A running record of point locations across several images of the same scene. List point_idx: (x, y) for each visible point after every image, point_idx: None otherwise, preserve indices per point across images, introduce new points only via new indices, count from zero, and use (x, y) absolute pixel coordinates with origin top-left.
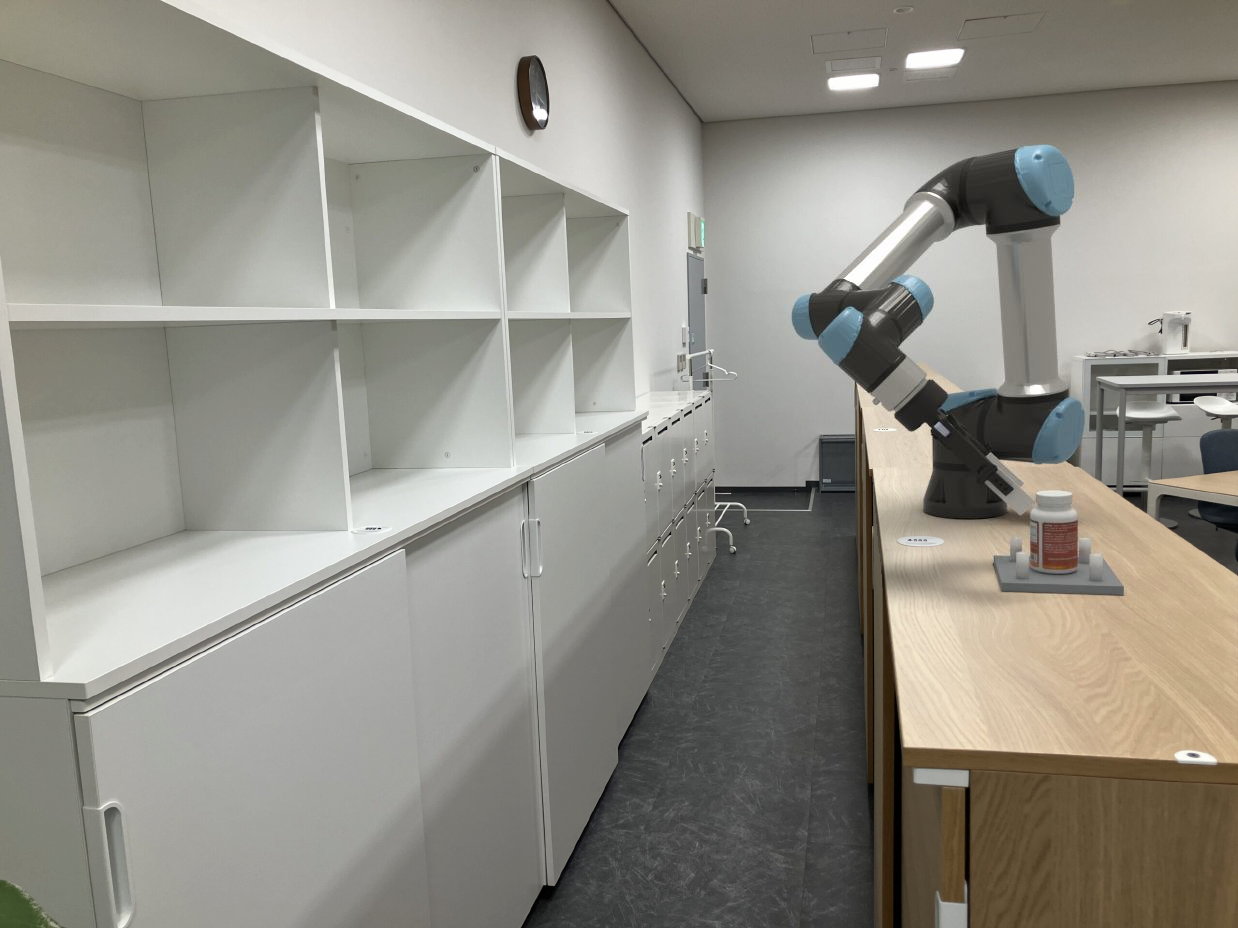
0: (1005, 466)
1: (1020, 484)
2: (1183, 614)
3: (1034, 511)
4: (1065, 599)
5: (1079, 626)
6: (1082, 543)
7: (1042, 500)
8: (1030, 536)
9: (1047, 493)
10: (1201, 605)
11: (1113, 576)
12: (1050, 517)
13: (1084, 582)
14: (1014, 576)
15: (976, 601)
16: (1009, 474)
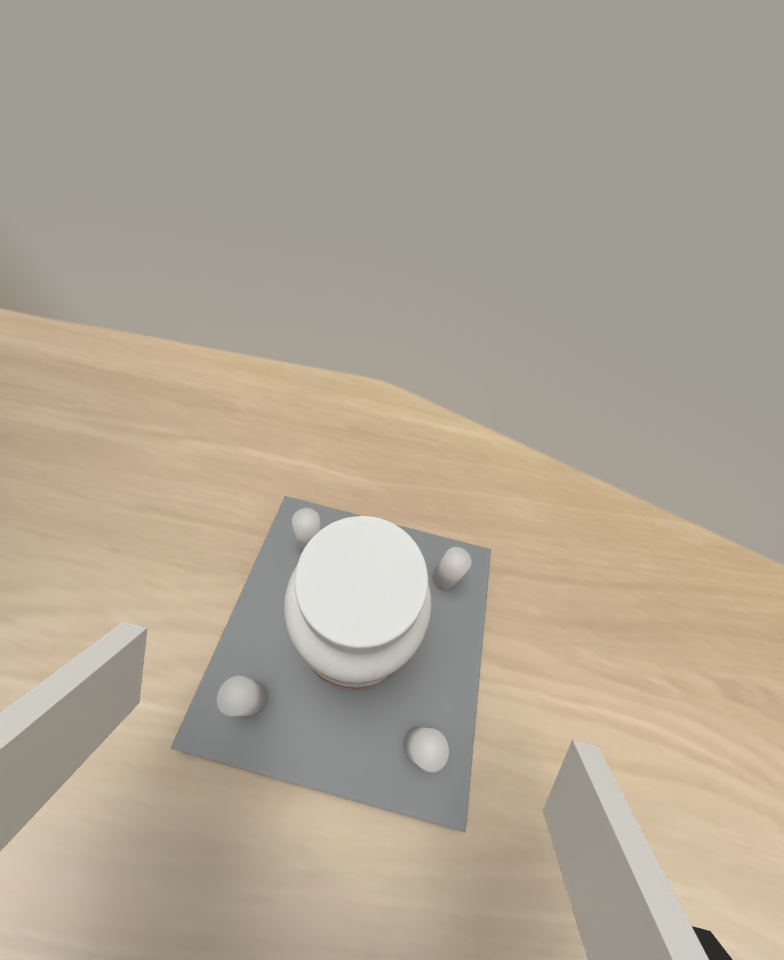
0: (20, 735)
1: (140, 647)
2: (582, 519)
3: (363, 669)
4: (518, 677)
5: (695, 723)
6: (315, 533)
7: (395, 641)
8: (345, 685)
9: (361, 601)
10: (533, 476)
11: (424, 537)
12: (424, 634)
13: (464, 608)
14: (406, 765)
15: (557, 957)
16: (72, 704)
